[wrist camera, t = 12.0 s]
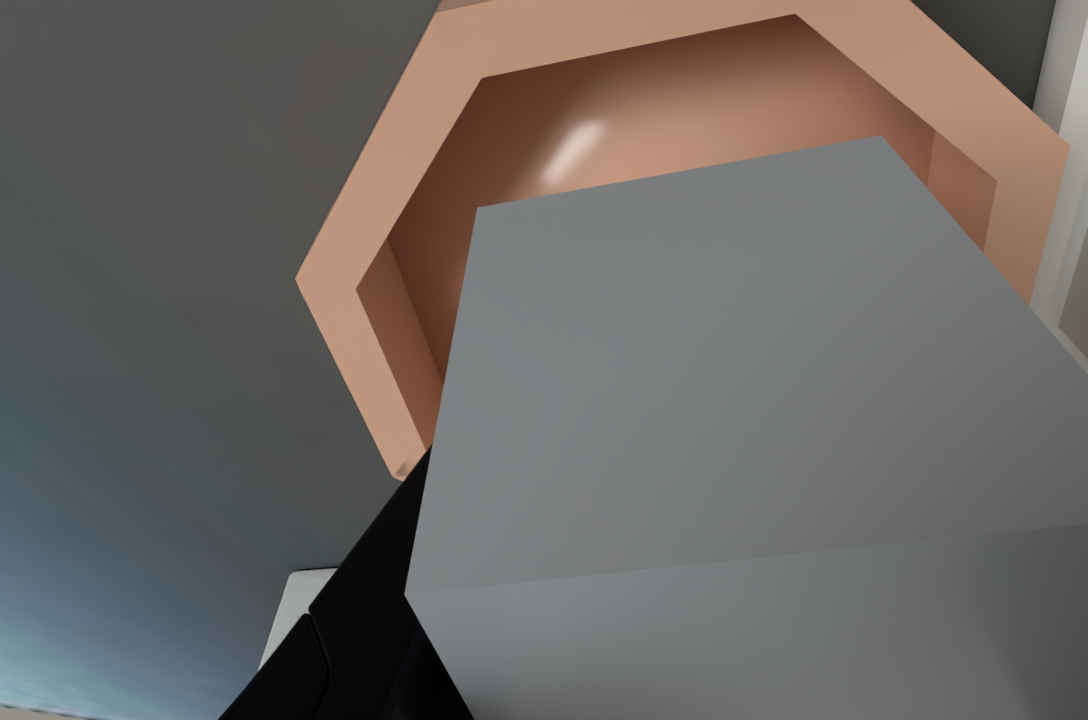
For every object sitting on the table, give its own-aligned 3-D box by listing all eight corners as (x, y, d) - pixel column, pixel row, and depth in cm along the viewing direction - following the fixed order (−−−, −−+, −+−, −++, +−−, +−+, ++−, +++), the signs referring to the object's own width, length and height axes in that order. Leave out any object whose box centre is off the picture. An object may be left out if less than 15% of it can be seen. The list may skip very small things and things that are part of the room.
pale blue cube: (881, 134, 8) (1208, 511, 4) (855, 429, 10) (1030, 823, 7) (477, 207, 8) (405, 593, 4) (552, 467, 11) (547, 849, 7)
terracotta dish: (1025, -163, 11) (1145, -144, 9) (925, 426, 19) (974, 516, 17) (255, 13, 13) (189, 66, 11) (453, 486, 21) (440, 575, 19)
